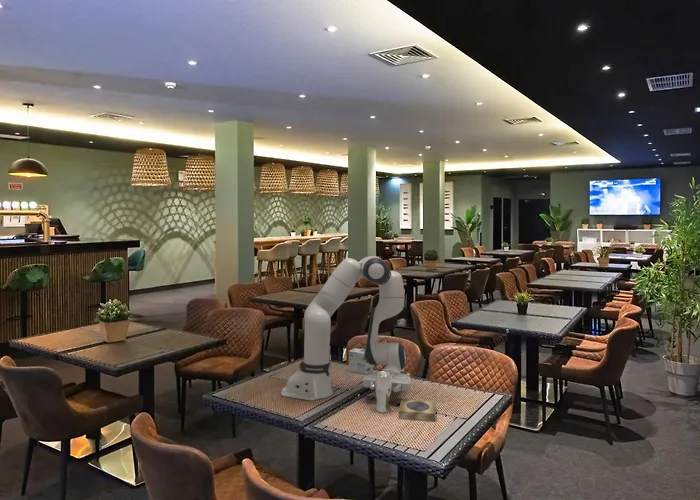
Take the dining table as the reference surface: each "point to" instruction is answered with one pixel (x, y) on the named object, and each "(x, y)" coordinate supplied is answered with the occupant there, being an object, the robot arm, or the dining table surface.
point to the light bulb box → (359, 362)
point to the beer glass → (383, 391)
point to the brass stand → (417, 410)
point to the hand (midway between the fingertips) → (383, 389)
